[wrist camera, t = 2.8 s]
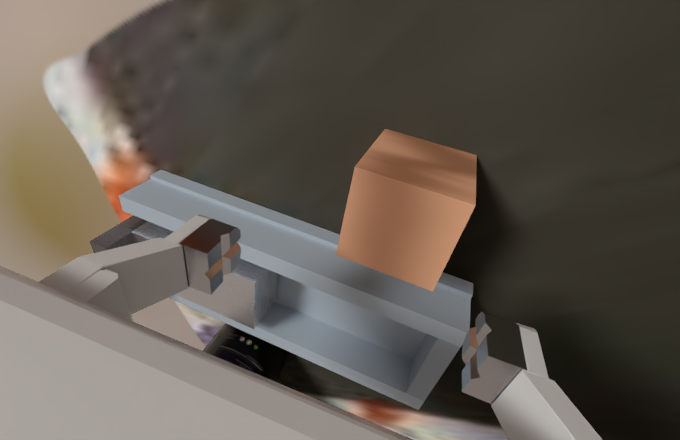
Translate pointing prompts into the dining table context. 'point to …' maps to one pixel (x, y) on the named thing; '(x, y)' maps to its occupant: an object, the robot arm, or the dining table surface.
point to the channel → (325, 293)
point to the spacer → (408, 207)
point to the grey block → (233, 293)
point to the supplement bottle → (247, 352)
